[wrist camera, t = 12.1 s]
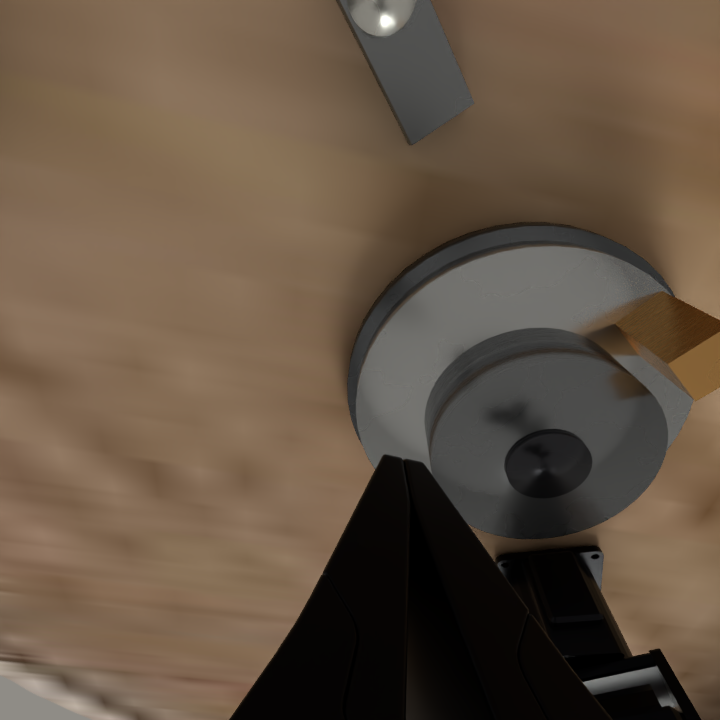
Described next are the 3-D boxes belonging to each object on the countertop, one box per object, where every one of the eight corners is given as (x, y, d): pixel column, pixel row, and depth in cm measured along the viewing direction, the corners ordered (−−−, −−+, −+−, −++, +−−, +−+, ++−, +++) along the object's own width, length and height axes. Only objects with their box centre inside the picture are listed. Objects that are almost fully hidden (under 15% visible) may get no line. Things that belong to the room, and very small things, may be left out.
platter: (481, 546, 25) (501, 627, 21) (294, 392, 20) (271, 455, 16) (737, 404, 20) (834, 474, 15) (561, 153, 15) (630, 156, 11)
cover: (497, 515, 22) (516, 574, 19) (384, 411, 19) (385, 460, 16) (662, 423, 19) (716, 476, 16) (556, 283, 16) (596, 315, 13)
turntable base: (654, 481, 24) (665, 494, 23) (379, 512, 26) (379, 525, 25) (698, 184, 16) (716, 187, 16) (314, 262, 19) (311, 268, 18)
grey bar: (465, 107, 16) (475, 103, 14) (409, 145, 16) (412, 144, 15) (385, -75, 13) (385, -109, 12) (324, -23, 14) (316, -47, 12)
